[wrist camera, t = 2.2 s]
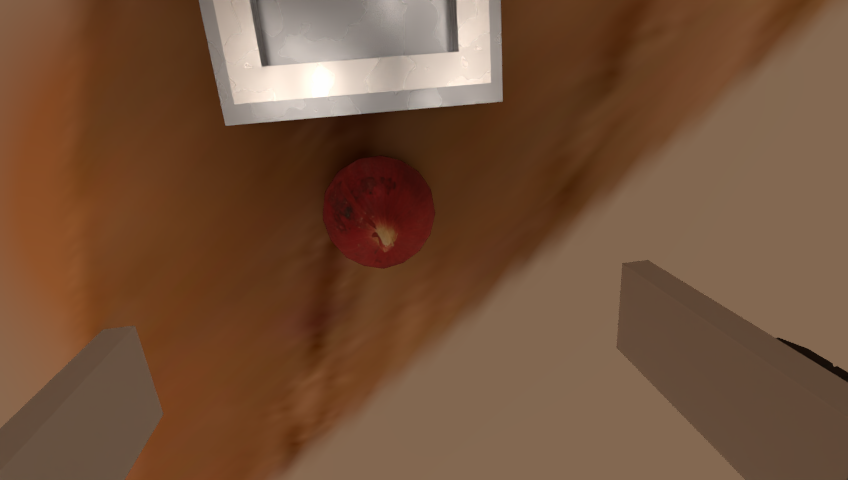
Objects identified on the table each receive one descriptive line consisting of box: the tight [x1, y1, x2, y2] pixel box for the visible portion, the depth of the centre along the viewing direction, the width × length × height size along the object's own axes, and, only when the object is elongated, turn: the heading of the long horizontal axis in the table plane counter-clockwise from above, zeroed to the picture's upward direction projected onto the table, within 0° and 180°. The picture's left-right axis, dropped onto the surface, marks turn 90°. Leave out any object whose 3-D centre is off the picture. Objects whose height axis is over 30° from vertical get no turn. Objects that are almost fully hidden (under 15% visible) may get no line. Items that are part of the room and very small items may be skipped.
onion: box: [323, 156, 435, 269], centre depth 24 cm, size 6×6×8 cm
